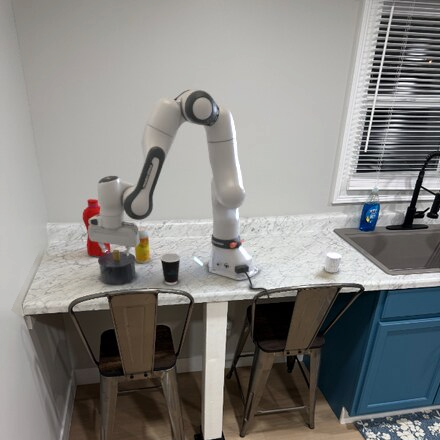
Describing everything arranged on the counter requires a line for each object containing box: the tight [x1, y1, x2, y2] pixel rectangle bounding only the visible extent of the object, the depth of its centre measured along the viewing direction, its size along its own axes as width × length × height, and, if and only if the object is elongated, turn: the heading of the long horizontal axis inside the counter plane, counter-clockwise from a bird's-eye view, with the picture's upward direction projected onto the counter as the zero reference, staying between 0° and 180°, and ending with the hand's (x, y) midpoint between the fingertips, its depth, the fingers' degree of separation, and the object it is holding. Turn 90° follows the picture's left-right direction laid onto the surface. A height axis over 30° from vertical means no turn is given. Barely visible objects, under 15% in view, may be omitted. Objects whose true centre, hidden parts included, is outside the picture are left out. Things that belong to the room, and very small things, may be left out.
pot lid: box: [97, 249, 136, 268], centre depth 160 cm, size 15×15×5 cm
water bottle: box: [82, 198, 111, 257], centre depth 179 cm, size 9×11×25 cm
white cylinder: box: [324, 251, 343, 273], centre depth 175 cm, size 7×7×7 cm
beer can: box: [134, 226, 151, 264], centre depth 175 cm, size 6×6×15 cm
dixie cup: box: [159, 252, 181, 286], centre depth 159 cm, size 8×8×11 cm
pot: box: [99, 261, 137, 286], centre depth 163 cm, size 14×19×8 cm
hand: (115, 253), depth 159 cm, fingers open, 8 cm apart
